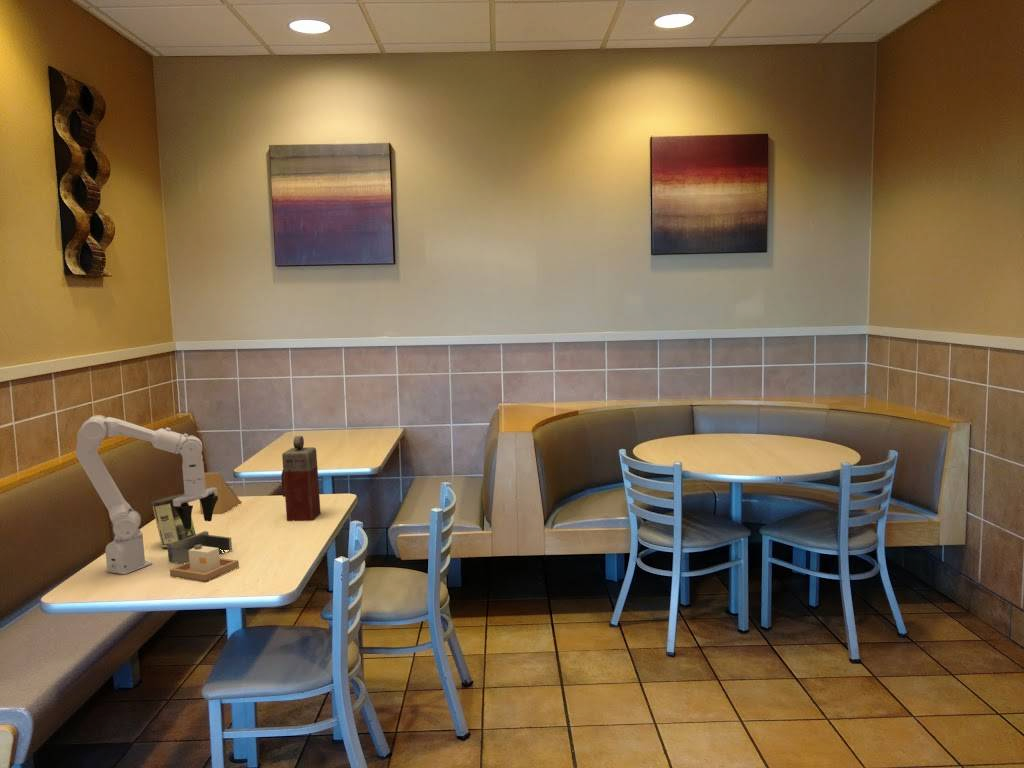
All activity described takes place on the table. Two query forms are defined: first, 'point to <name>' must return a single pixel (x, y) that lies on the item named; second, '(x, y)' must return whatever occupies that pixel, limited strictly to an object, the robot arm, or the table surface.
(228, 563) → the tray
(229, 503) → the sandwich container
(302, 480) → the red pepper mill
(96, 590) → the table surface
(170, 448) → the robot arm
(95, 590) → the table surface
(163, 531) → the coffee can
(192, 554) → the block with grey knob
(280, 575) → the table surface
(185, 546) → the bay
